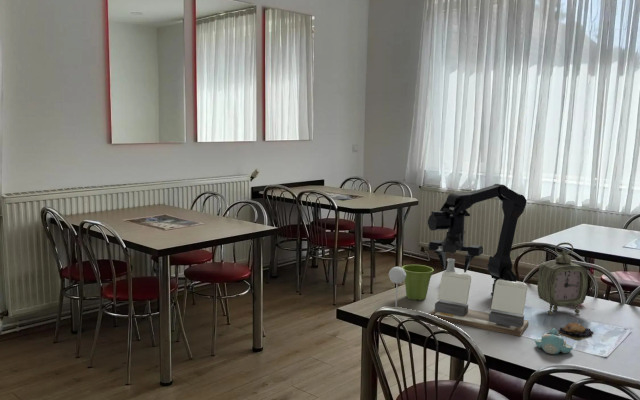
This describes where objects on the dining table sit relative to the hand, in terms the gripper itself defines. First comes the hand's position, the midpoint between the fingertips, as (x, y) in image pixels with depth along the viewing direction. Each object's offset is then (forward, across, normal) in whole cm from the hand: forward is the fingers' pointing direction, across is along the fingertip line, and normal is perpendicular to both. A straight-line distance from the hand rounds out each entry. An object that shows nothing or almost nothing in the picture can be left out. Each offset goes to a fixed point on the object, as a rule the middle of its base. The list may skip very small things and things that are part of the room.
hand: (454, 270), depth 211 cm
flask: (+12, -9, +23) cm, 28 cm away
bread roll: (+13, +43, -8) cm, 45 cm away
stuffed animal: (+12, +39, -26) cm, 49 cm away
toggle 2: (+7, +23, -15) cm, 28 cm away
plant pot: (+12, -13, -2) cm, 18 cm away
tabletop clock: (+12, +35, +11) cm, 38 cm away
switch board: (+12, +14, -15) cm, 23 cm away
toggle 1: (+7, +4, -15) cm, 17 cm away
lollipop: (+12, -15, -18) cm, 26 cm away
